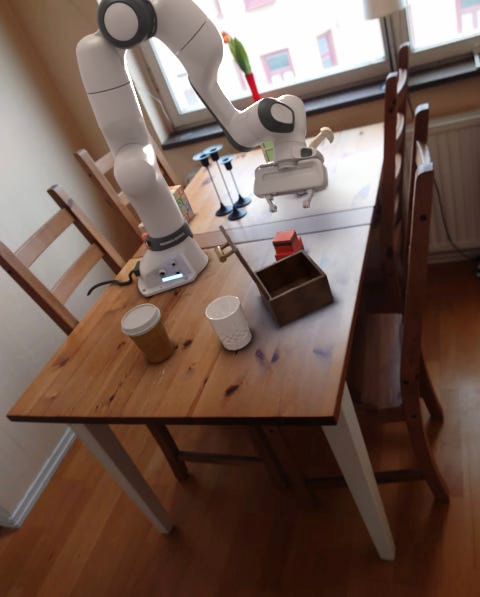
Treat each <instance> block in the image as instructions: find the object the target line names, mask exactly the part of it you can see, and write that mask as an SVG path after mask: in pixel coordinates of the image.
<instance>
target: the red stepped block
mask: <svg viewBox="0 0 480 597" xmlns="http://www.w3.org/2000/svg"><path fill="white" fill-rule="evenodd" d="M271 242H272V246H273V248H274V251H275V254H274V258H275V262H276V261H278V260H281V259H283V258H285V257H287V256H289V255H291V254H294V253H296V252H298V251H300V250H302V249H303V250H304V251H305V252H306V250H305V245H304V242H303V238H302V236H298V233H297V231H296V229H291V230H282V231H276V234H275V236H274V238H273V239H272V241H271Z"/></svg>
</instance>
